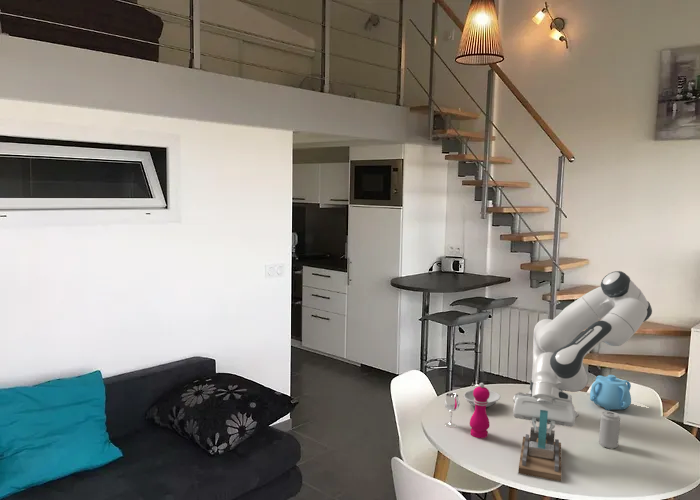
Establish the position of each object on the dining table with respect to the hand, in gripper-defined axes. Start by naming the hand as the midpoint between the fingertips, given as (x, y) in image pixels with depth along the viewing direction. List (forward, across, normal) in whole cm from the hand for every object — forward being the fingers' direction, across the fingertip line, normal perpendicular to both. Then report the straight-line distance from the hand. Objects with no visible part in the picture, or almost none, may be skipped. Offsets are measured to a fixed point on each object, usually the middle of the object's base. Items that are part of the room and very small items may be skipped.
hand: (542, 433), depth 196 cm
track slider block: (+5, 0, +6) cm, 8 cm away
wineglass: (-6, -34, +20) cm, 40 cm away
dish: (-23, -25, +38) cm, 51 cm away
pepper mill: (-2, -22, +17) cm, 28 cm away
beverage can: (-10, +23, +24) cm, 34 cm away
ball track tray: (+6, 0, +8) cm, 10 cm away
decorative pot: (-41, +27, +55) cm, 74 cm away
